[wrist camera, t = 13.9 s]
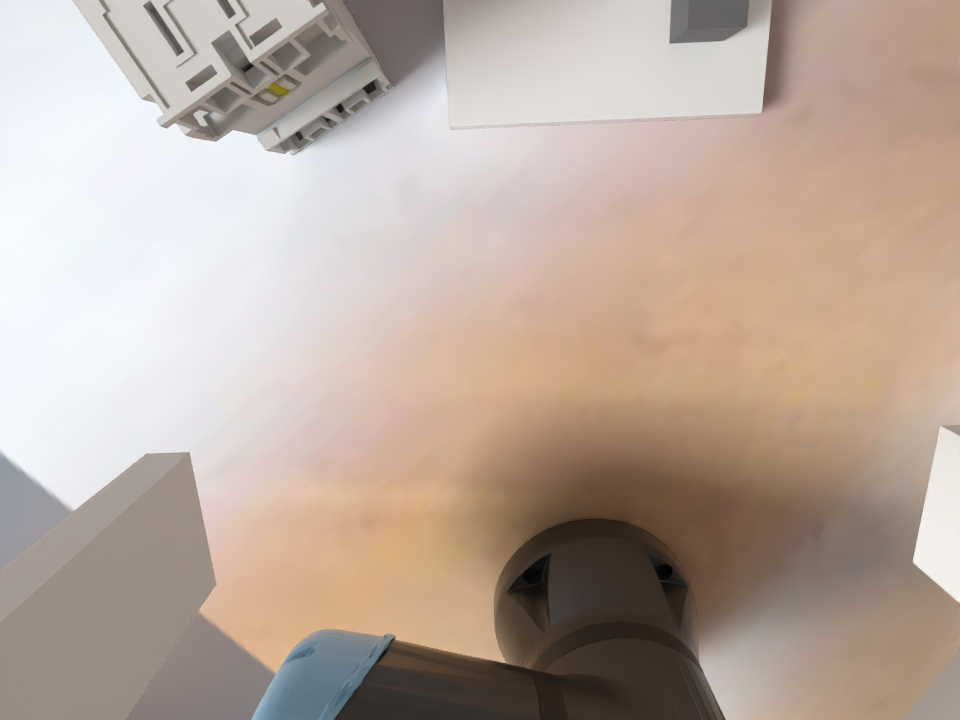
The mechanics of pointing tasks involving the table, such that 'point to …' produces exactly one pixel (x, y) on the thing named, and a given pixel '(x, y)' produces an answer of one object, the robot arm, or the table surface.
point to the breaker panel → (603, 61)
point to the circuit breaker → (242, 64)
